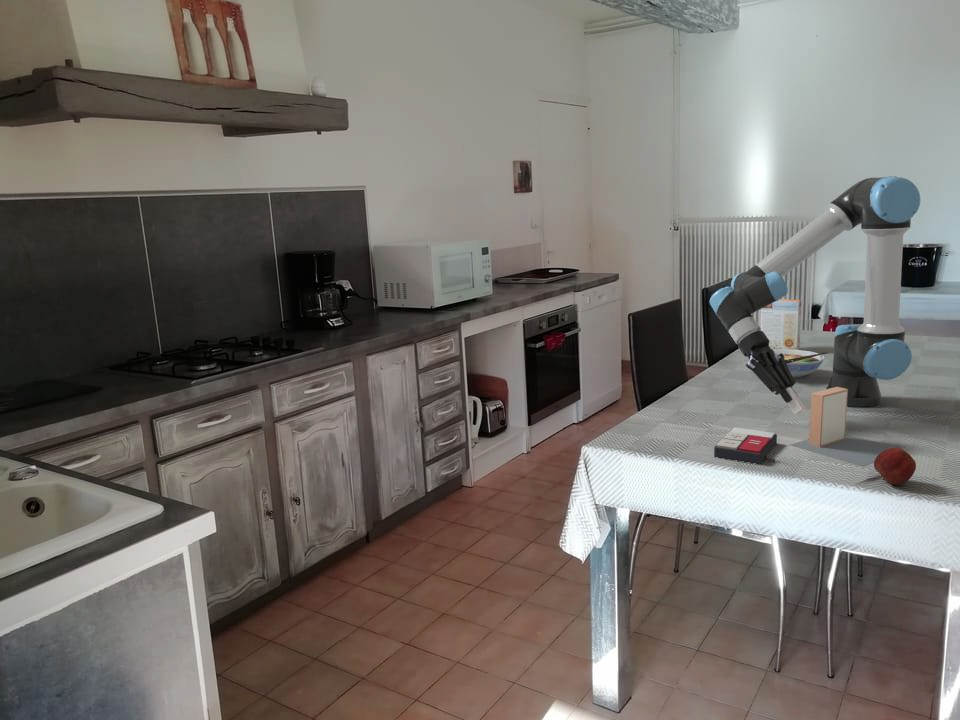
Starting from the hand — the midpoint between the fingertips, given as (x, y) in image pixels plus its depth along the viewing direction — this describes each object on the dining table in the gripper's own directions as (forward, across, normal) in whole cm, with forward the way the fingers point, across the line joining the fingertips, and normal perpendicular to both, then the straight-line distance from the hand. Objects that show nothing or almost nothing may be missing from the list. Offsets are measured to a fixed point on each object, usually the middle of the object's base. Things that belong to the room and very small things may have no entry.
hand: (800, 411), depth 193 cm
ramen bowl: (-26, -54, -36) cm, 69 cm away
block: (+10, 0, +1) cm, 10 cm away
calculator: (+5, +19, -6) cm, 21 cm away
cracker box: (-45, -84, -55) cm, 110 cm away
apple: (+27, +11, +17) cm, 34 cm away
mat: (+14, 0, +4) cm, 15 cm away
